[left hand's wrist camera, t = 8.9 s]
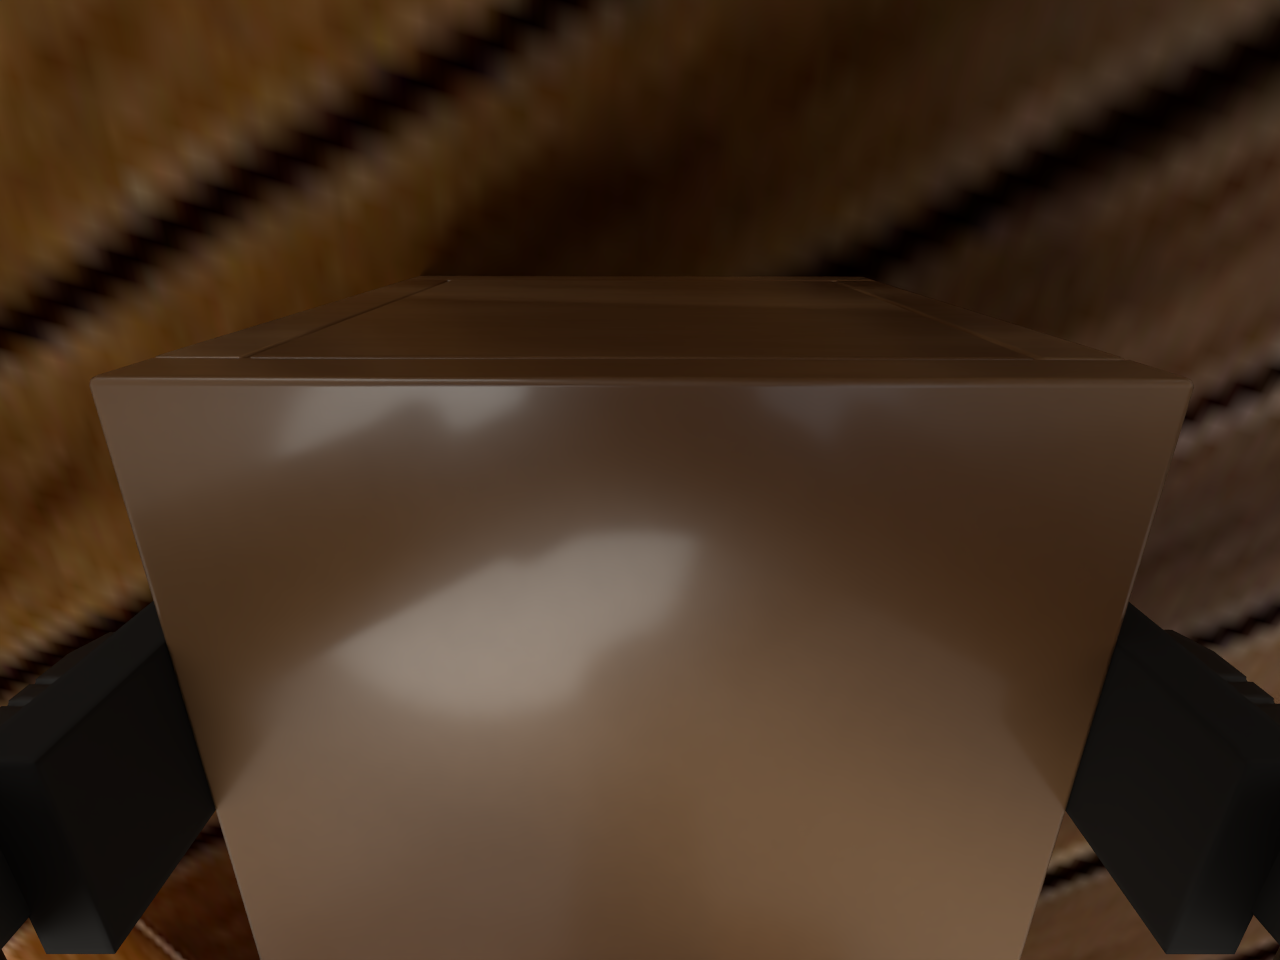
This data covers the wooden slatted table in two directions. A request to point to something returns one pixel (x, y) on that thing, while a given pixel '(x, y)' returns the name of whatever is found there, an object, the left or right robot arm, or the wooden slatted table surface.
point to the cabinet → (640, 610)
